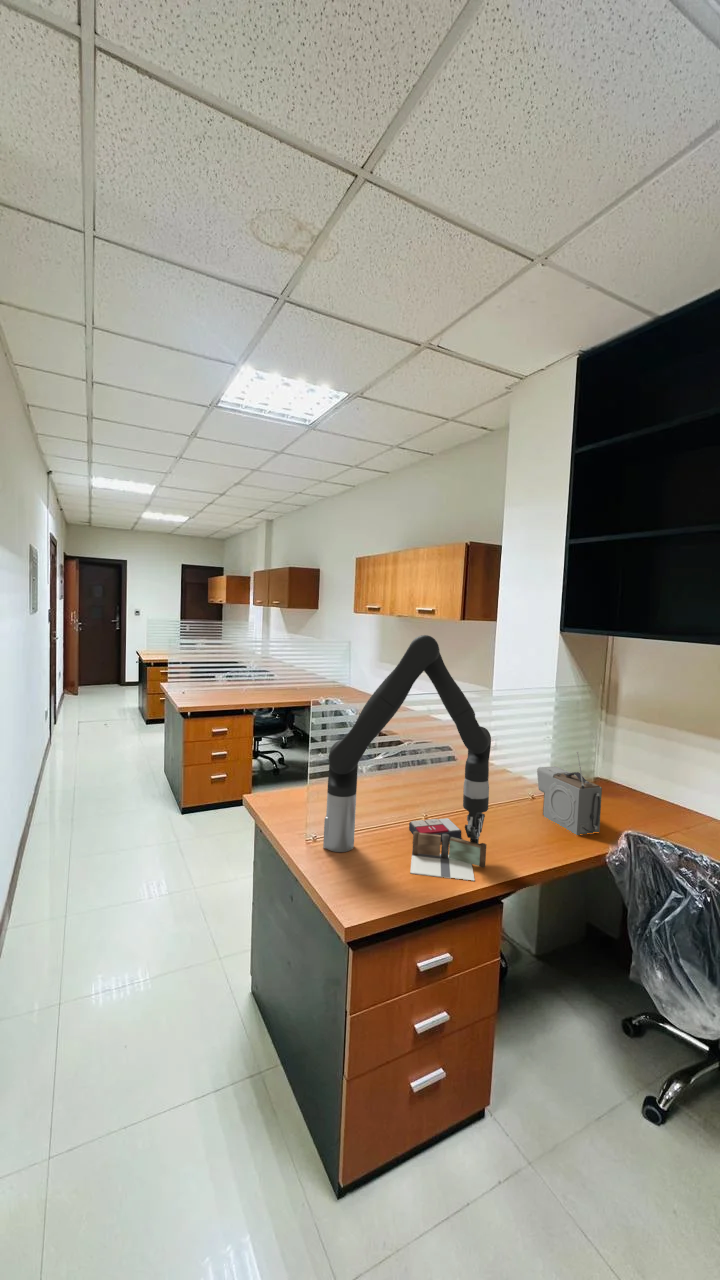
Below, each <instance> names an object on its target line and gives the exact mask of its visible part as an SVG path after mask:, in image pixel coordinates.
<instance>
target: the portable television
mask: <svg viewBox="0 0 720 1280" xmlns="http://www.w3.org/2000/svg"><path fill="white" fill-rule="evenodd" d="M576 753H577V754H576V755H577V760H578V765H579V768H578V769H579V772H578V771H577V772H576V771H575V772H571V771H568V770H565V769H564V768H561V767H558V766H539V767H538V768H537V769H536V772H537V785H538V790H539V791H540V792H541V793H543V808H542V816H543V815H544V817H546V818H548V819H549V820H551V821H553V822H555V823H557V824H559V825H560V826H562V827H564V828H566V829H567V830H569V831H571V832H572V833H574V834H576V835H580V834H587V833H593V832H599V833H600V831H601V830H600V828H601V814H602V811H601V810H602V795H603V793H602V791H603V788H602V787H601V786H600V785H599V784H596V783H594V782H592V781H588V780H586V779H585V777H584V776H583V772H582V767H581V763H580V757H579V751H576ZM544 817H543V818H544ZM546 818H545V819H546ZM549 820H548V821H549ZM551 821H550V822H551ZM553 822H552V823H553ZM555 823H554V824H555ZM560 826H559V827H560ZM562 827H561V828H562ZM567 830H566V831H567ZM569 831H568V832H569ZM571 832H570V833H571ZM572 833H571V834H572ZM574 834H573V835H574ZM576 835H575V836H576Z"/></svg>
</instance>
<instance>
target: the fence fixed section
mask: <svg viewBox="0 0 720 1280" xmlns="http://www.w3.org/2000/svg"><path fill="white" fill-rule="evenodd" d="M449 845H450V841H449V834H442V842H441V835H436V834H426V833H419V832H417V831H414V832H413V834H412V849H411V850H412V852H411V855H412V854H413V855H418V854H426V855H435V856H440V854H441V858H443V859H448V855H449Z"/></svg>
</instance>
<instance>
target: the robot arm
mask: <svg viewBox="0 0 720 1280" xmlns="http://www.w3.org/2000/svg"><path fill="white" fill-rule="evenodd" d="M440 652H441V651H440V646H439V644H438V641H437V640H436V638H434V637H432V636H431V635H428V634H424V635H419V636H416V637H415V638H413V640H412V641H411V642H410V644H409V645H408V647H407V649H406V650H405V652H404V655H403V656H402V658H401V659H400V661H399V662H398V664H396V666H395V668H394V669H393V670H392V671H391V672H390V673H389V675H388V676H386V677H385V678H384V680H383V681H382V683H381V684H380V685H379V686H378V687H377V688H376V689H375V691H374V692H373V693H372V695H371V696H370V697H369V699H368V700H367V702H366V703H365V705H364V706H363V708H362V709H361V711H360V713H359V715H358V717H357V718H356V721H355V723H354V724H353V726H352V727H351V729H350V730H349V731H348V733H347V734H346V735H345V736H344V737H343V738H342V739H340V740H337V741H335V742H334V743H333V744H332V746H331V748H330V750H329V754H328V778H327V792H326V793H327V796H326V815H325V817H324V822H323V823H324V824H323V825H324V826H323V845H322V846H323V847H322V848H323V849H325V850H329V851H331V852H334V853H335V852H336V853H346V852H349V851H351V850H353V849H354V846H355V829H356V809H357V808H356V806H357V792H358V791H357V790H358V789H357V788H358V787H357V786H358V770H359V769H358V768H359V762H360V761H361V758H362V757H363V755H364V754H365V752H366V750H367V749H368V747H369V746H370V745H371V743H372V742H373V740H374V739H375V738H376V737H377V736H378V735H379V734H380V733H381V732H382V730H383V729H385V727H386V726H387V725H388V723H389V722H390V721H391V720H392V719H393V717H394V716H395V715H396V714H397V712H398V711H399V709H400V708H401V706H402V705H403V704H404V702H405V700H406V698H407V696H408V695H409V693H410V692H411V691H410V690H411V689H412V687H413V686H414V684H415V682H416V681H417V679H418V678H419V677H420V676H421V675H422V673H425V674H426V675H427V677H428V678H429V680H430V681H431V683H432V685H433V686H434V688H435V690H436V692H437V694H438V696H439V698H440V700H441V703H442V704H443V706H444V708H445V710H446V711H447V713H448V715H449V716H450V717H451V720H452V721H453V722H454V724H455V727H456V729H457V732H458V734H459V737H460V739H461V741H462V742H463V745H464V747H465V748H466V749H467V758H466V760H465V764H464V765H465V766H464V781H463V793H462V795H463V796H462V807H463V809H464V810H466V811H467V812H468V814H466V821H467V824H465V825H464V830H465V833H466V836H467V838H469V839H470V840H469V841H470V842H474V843H478V844H480V843H479V842H480V841H479V840H480V839H479V838H480V837H481V834H482V832H483V826H484V821H485V817H486V815H485V813H486V812H488V811H489V804H490V803H489V801H490V799H489V798H490V796H489V795H490V783H489V778H490V775H489V774H490V773H489V772H490V769H489V767H490V766H489V765H490V763H489V761H490V756H491V755H490V754H491V747H492V745H491V744H492V737H491V732H489V730H488V729H487V728H485V727H484V726H481V725H480V724H479V722H478V720H477V719H476V712H475V710H474V708H473V707H472V705H471V703H470V702H469V700H468V699H467V696H466V695H465V694H464V692H463V691H462V689H461V688H460V686H459V685H458V684H457V682H456V681H455V679H454V677H452V675H451V674H450V672H449V670H448V668H447V666H446V665H445V662H444V659H443V657H442V654H441V653H440Z"/></svg>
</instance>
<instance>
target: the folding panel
mask: <svg viewBox="0 0 720 1280" xmlns="http://www.w3.org/2000/svg"><path fill="white" fill-rule="evenodd" d="M448 855H449V858H451V859H455V860H459V861H463V862H466V863H470V864H472V865H475V866H478V867H480V868H485V867H486V860H487V859H486V857H487V844H486V843H484V842H480V843H479V844H478V843H474V842H470V840H467V839H466V840H465V839H462V838H461V839H458V838H454V837H451V838H450V841H449V853H448Z"/></svg>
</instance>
